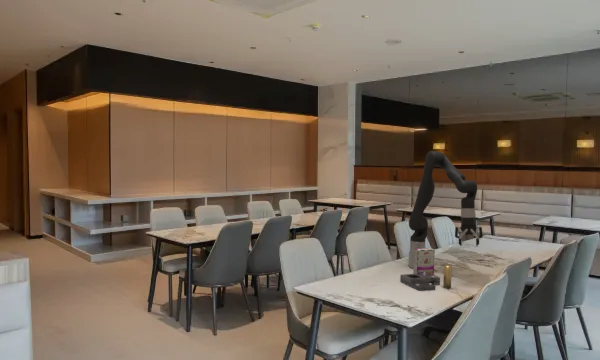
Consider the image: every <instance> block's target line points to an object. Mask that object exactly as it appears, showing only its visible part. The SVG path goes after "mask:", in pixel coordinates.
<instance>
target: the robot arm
mask: <svg viewBox="0 0 600 360" xmlns="http://www.w3.org/2000/svg"><path fill="white" fill-rule="evenodd" d="M434 167H437V168H440V169H443V170H444V171H445V173H446V174H445V175H446V177H447V178H448V179H449V180H450V182H452V183H453V184H454V186H455V188H456V190H457V191H458V192H459V193H461V194H466V196H465V197H461V201H460V209H461V210H460V226H455V228H454V237H455V238H456V239H458V245H459V246H460V247H462V246H463V242H462V238H463V237H464V236H467V235H470V236H472V235H473V236H474V237H475V246H477V247H478V246H479V245H480V239H482V238H483V227H482V226H477V223H476V209H475V208H476V206H475V201H476V200H475V199H476V196H477V192H478V183H476V181H475V180H472V179H471V180H470V179H469V180H466V176H465V175H464V174H463V173H462V172H461V171H460V170H459V169H458V168H456V167H455V166H454V164H453V163H452V162H451V161H450V159H449V158H448V157H447V155H445V153H444V152H441V151H436V150H435V151H434V150H430V151H428V152H427V154H426V156H425V160H424V164H423V173H422V176H421V181H420V184H419V187H418V191H417V196H416V199H415V202H414V207H413V209H412V212H411V214H410V217H409V219H408V226H409V228H410V230H412V231H413V234H411V235H410V238H409V239H410V241H409V243H410V244H409V252H408V268H410V269H414V249H424V248H426V239H427V236H428V230H429V229H428V228H429V227H428V226H429V223H428V219H427V217H426V216H424V212H425V210H426V208H428V206H429V204H430V203H431V201H432V200H433V197H434V193H435V190H436V188H435V183H434V181H435V180H434V179H433V171H434ZM459 231H461V232H460V234H459ZM476 231H478V234H479V235H478V234H477V233H476ZM458 234H459V235H458Z"/></svg>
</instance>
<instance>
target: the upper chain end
mask: <svg viewBox="0 0 600 360" xmlns="http://www.w3.org/2000/svg"><path fill="white" fill-rule="evenodd" d="M400 278H401V279H403V280H405V281H407V282H409V283H419V282H427V283H432V285H434V286H440V285H441V277H440V276H438V275H436V274H434V275H433V274H431V273H426V272H423V273H420V274H413V273H406V274H400V276H399V279H400Z"/></svg>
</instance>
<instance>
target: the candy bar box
mask: <svg viewBox="0 0 600 360" xmlns="http://www.w3.org/2000/svg"><path fill="white" fill-rule="evenodd" d="M435 251H436V250H435V249H433V248H432V247H429V248H427V247H425V248H424V249H414V269H413V268H412V269H413V273H412V274H420V273H423V272H426V273H431V274H433V275H435Z"/></svg>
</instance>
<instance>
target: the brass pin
mask: <svg viewBox="0 0 600 360" xmlns="http://www.w3.org/2000/svg"><path fill="white" fill-rule="evenodd" d="M452 272H453V265H451V264H443V282H442V283H443V284H442V288H443V289H445V290H447V289H448V290H450V289H452V278H453V277H452V276H453V275H452V274H453V273H452Z"/></svg>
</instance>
